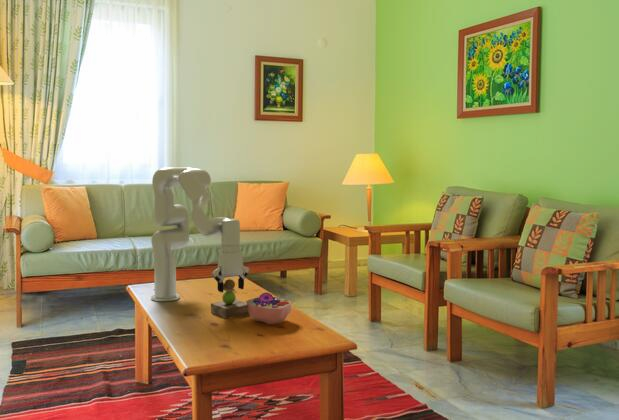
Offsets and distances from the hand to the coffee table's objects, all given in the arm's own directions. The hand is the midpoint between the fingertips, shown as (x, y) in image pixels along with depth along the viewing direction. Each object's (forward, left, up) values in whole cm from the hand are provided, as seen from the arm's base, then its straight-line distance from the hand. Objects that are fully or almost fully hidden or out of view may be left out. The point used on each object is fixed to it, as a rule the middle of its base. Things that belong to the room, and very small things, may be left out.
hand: (230, 290), depth 259 cm
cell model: (+21, +5, -10) cm, 24 cm away
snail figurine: (0, -1, -6) cm, 6 cm away
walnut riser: (0, 0, -10) cm, 10 cm away
